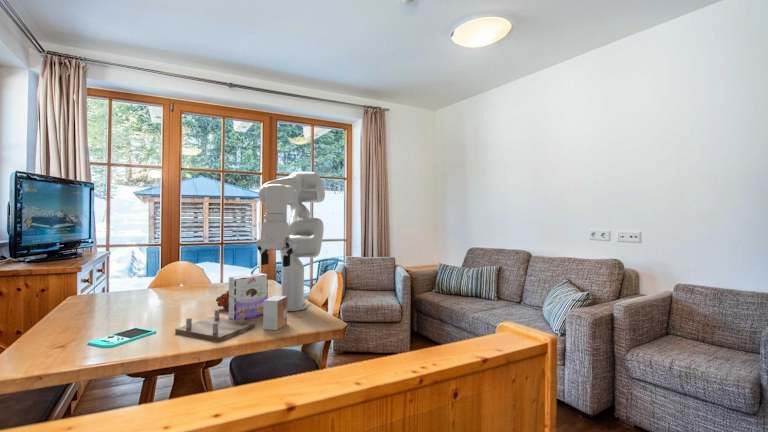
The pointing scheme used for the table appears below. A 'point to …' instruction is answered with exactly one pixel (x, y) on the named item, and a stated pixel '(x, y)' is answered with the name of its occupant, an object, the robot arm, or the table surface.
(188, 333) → the peg board
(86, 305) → the table surface
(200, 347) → the table surface
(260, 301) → the candy box
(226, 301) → the dragon fruit
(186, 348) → the table surface
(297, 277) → the robot arm
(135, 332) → the handheld game console
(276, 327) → the small box
